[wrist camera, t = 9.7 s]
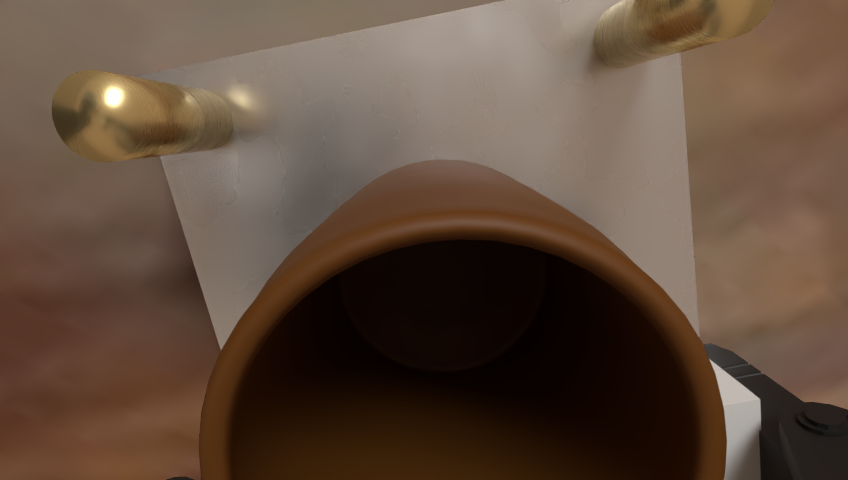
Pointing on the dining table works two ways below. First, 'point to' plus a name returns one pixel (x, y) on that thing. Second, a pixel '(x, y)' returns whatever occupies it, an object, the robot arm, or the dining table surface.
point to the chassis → (419, 127)
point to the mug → (461, 349)
